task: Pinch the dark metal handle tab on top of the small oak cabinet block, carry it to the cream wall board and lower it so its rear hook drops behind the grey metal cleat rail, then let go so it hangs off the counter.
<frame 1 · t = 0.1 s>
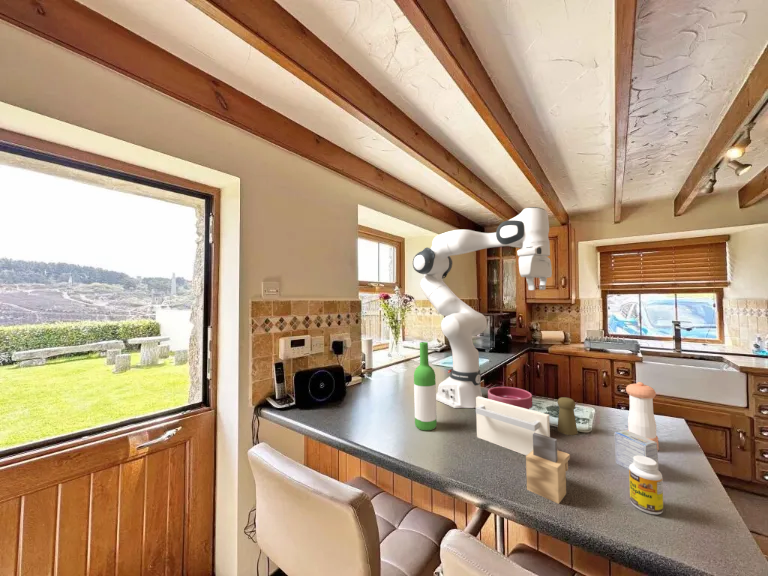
hand: (537, 290, 110), 48 cm above the breakfast bar, fingers open, 8 cm apart
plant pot: (510, 429, 106), on the breakfast bar
pepper shaker: (567, 431, 104), on the breakfast bar
oak cabinet block: (546, 491, 73), on the breakfast bar
medicine box: (636, 470, 81), on the breakfast bar
wall board: (510, 448, 93), on the breakfast bar
pepper shaker 2: (642, 446, 93), on the breakfast bar
supplement bottle: (646, 507, 67), on the breakfast bar
wine bottle: (425, 427, 109), on the breakfast bar
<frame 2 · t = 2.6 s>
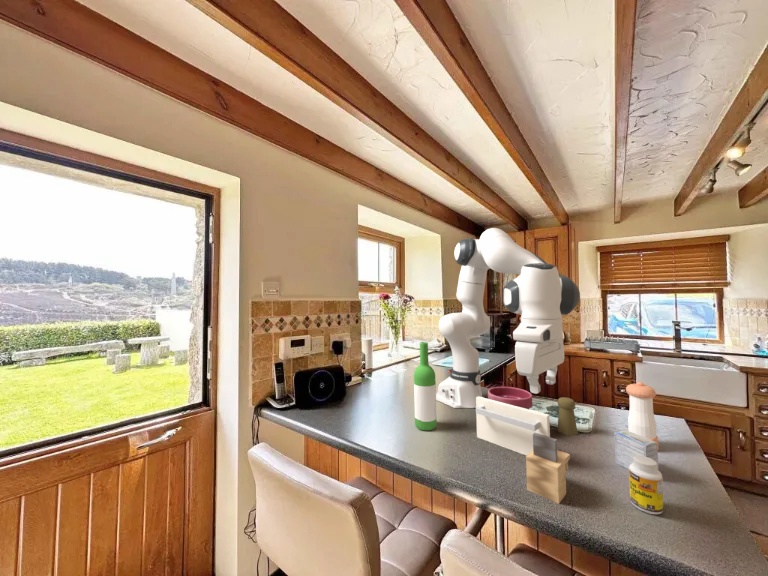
hand: (543, 387, 73), 25 cm above the breakfast bar, fingers open, 8 cm apart
nothing on the breakfast bar moved.
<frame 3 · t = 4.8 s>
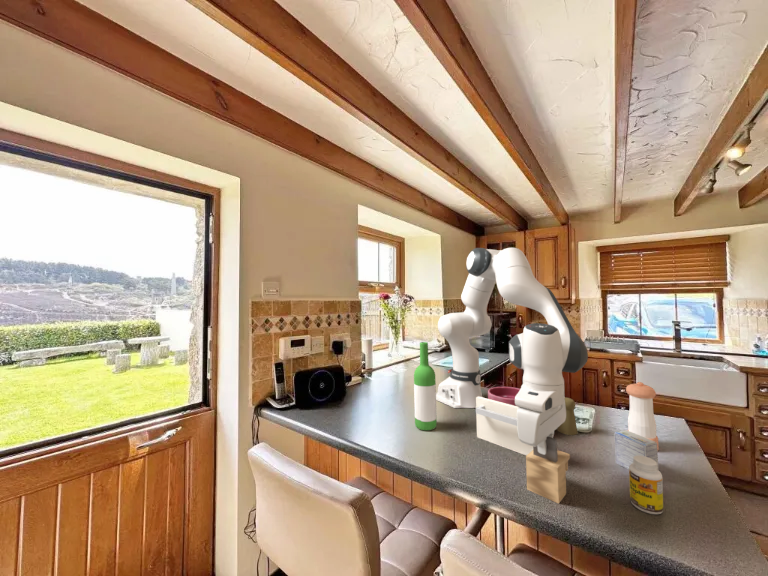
hand: (545, 450, 73), 10 cm above the breakfast bar, fingers closed on oak cabinet block
oak cabinet block: (546, 491, 73), on the breakfast bar, touching gripper
everything else where it was.
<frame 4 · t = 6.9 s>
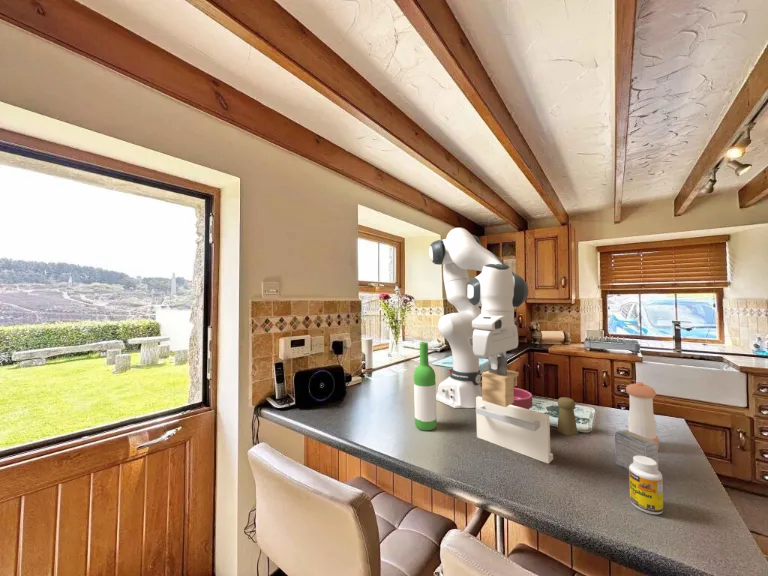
hand: (497, 368, 88), 26 cm above the breakfast bar, fingers closed on oak cabinet block
oak cabinet block: (497, 401, 88), point 16 cm above the breakfast bar, touching gripper
everything else where it was.
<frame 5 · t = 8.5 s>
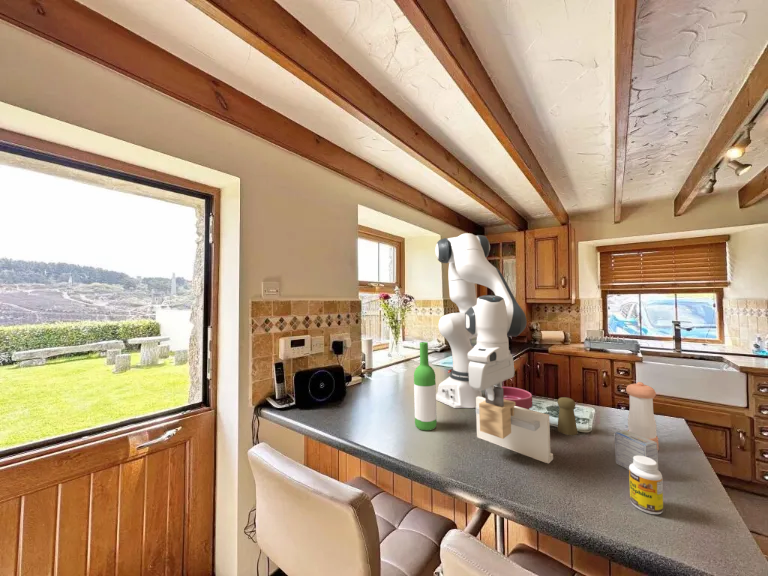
hand: (494, 398, 89), 17 cm above the breakfast bar, fingers closed on oak cabinet block
oak cabinet block: (495, 431, 89), point 7 cm above the breakfast bar, touching gripper
everything else where it was.
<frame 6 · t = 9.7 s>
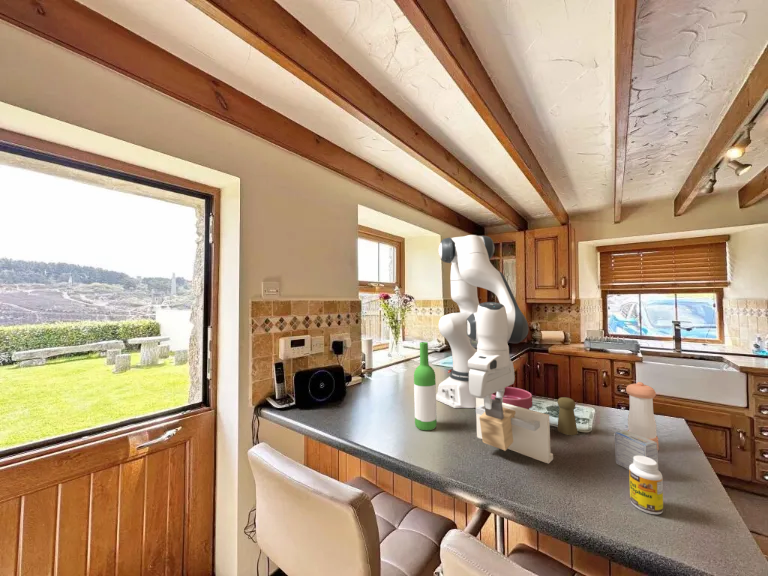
hand: (494, 405, 89), 15 cm above the breakfast bar, fingers open, 4 cm apart
oak cabinet block: (497, 441, 90), point 4 cm above the breakfast bar, tilted 10°, touching wall board
everything else where it was.
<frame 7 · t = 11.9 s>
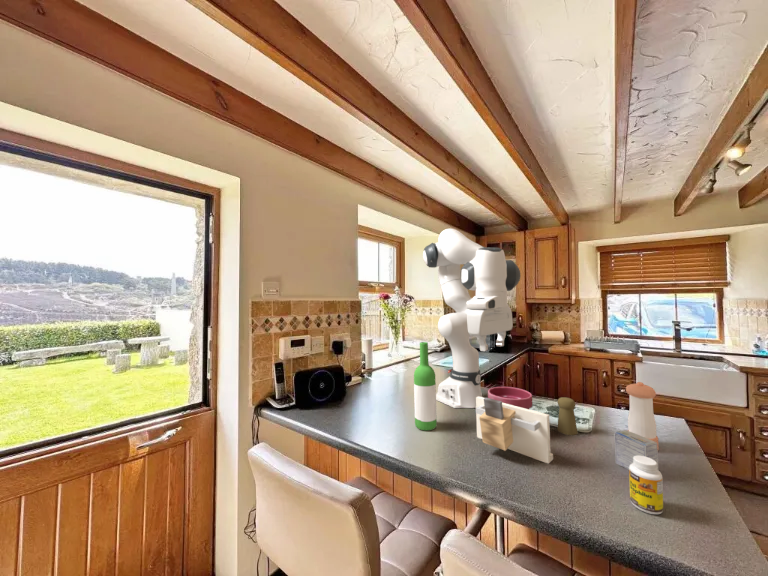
hand: (492, 348, 90), 31 cm above the breakfast bar, fingers open, 8 cm apart
nothing on the breakfast bar moved.
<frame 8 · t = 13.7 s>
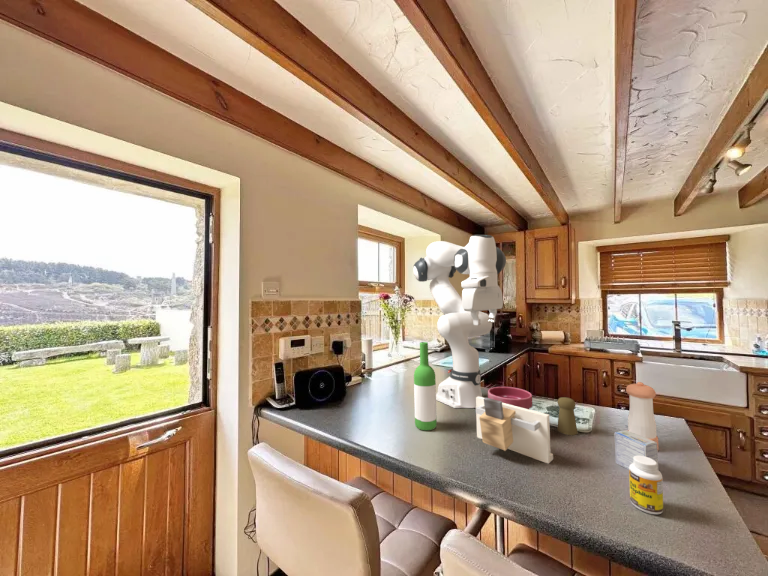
hand: (484, 323, 102), 37 cm above the breakfast bar, fingers open, 8 cm apart
nothing on the breakfast bar moved.
at the end: oak cabinet block inside the target area on the wall board (1.6 cm from its centre), point 3.6 cm above the wall board's base; oak cabinet block touching wall board; the gripper is holding nothing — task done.
